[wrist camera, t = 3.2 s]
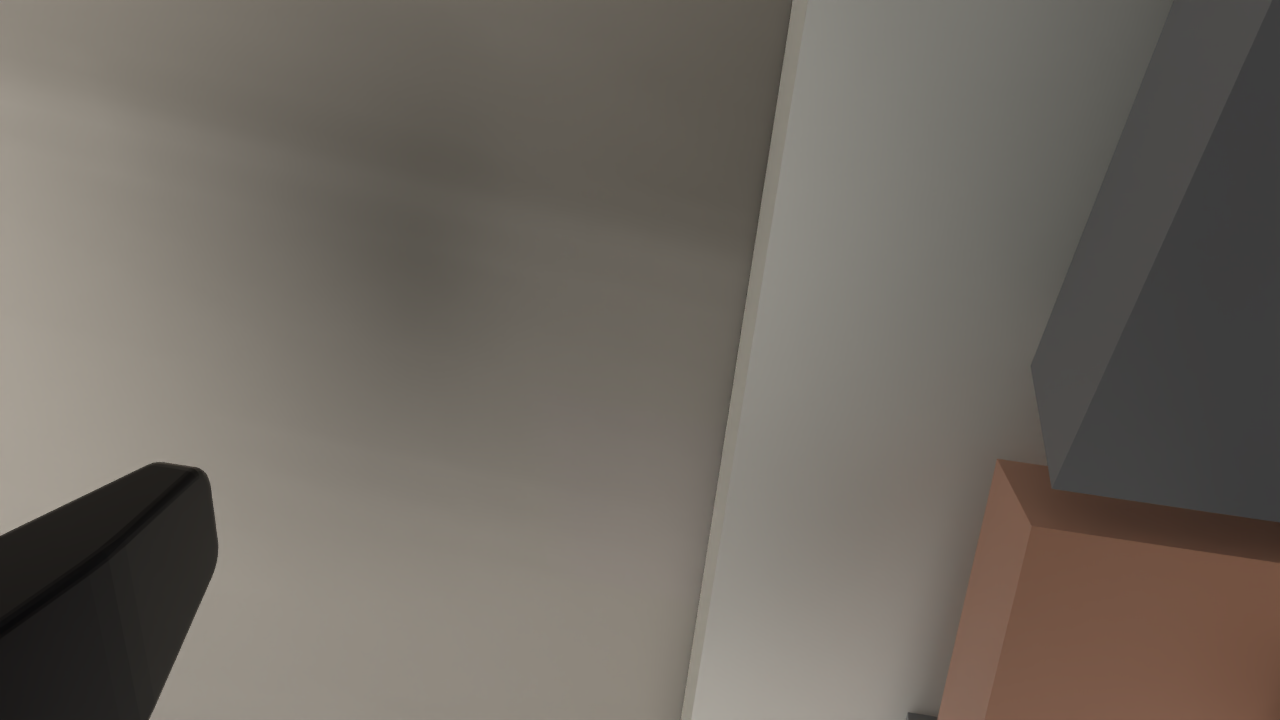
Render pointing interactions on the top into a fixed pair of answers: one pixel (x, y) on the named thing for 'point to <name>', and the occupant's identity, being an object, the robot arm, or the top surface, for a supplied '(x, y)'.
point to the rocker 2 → (1114, 610)
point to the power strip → (897, 335)
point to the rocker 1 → (1179, 284)
